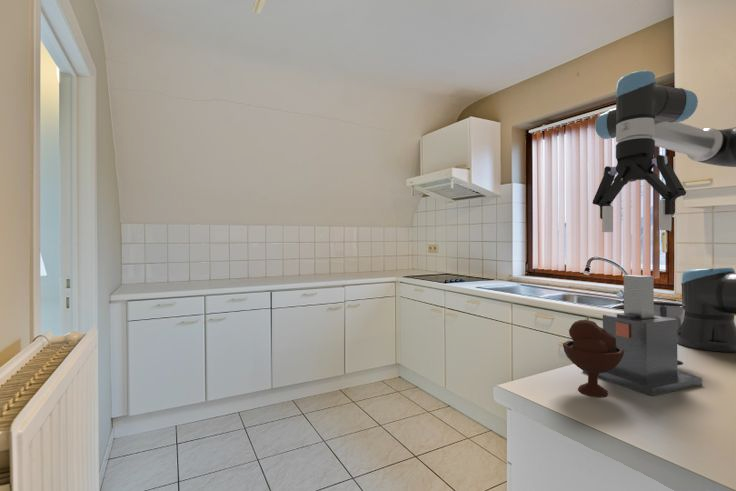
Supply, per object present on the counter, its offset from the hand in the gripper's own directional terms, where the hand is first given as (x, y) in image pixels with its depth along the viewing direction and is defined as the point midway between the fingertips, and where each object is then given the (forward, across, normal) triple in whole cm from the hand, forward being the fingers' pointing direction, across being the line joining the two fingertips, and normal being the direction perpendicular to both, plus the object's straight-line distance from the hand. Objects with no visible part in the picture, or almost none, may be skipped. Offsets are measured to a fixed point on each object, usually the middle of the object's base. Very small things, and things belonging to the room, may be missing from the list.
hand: (634, 231), depth 89 cm
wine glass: (+34, -4, +18) cm, 38 cm away
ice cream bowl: (+34, +4, -18) cm, 39 cm away
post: (+32, +2, -1) cm, 32 cm away
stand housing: (+34, +2, -1) cm, 34 cm away
